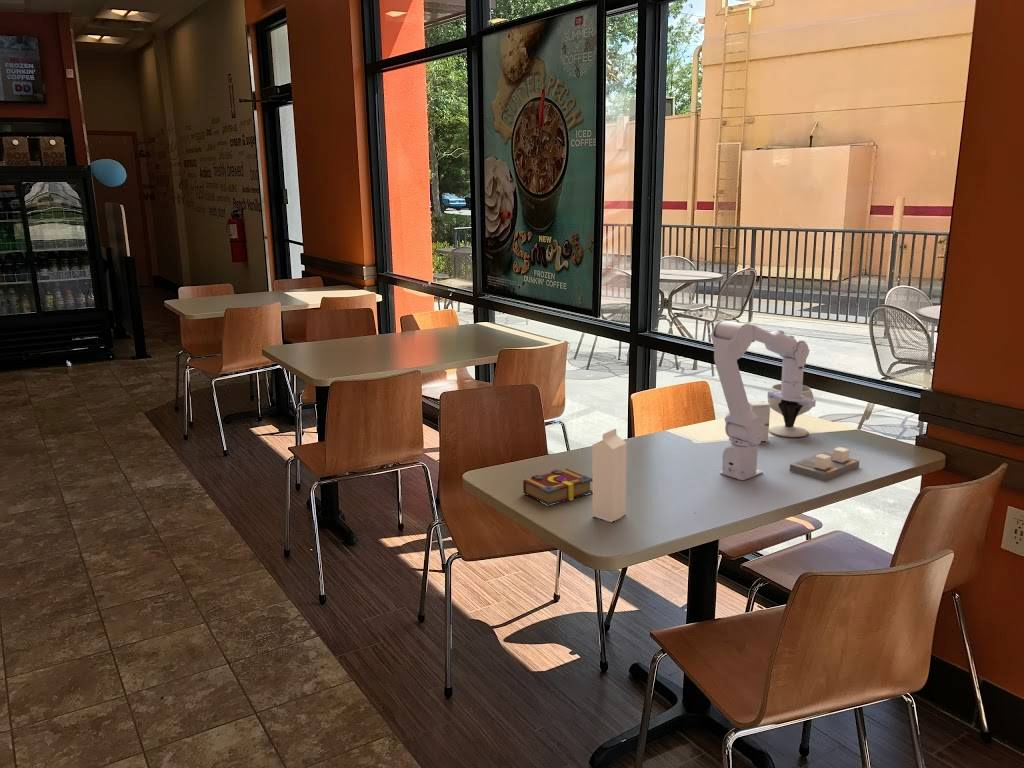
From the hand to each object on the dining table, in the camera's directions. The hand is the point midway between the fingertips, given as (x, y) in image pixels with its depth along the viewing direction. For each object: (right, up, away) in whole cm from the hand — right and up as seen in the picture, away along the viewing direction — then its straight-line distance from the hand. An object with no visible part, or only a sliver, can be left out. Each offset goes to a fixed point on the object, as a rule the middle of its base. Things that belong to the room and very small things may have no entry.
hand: (789, 426), depth 239 cm
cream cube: (+13, -9, -5) cm, 17 cm away
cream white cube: (+6, -11, -10) cm, 16 cm away
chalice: (+9, -4, +29) cm, 31 cm away
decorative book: (-67, -17, -18) cm, 72 cm away
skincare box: (-3, -6, +22) cm, 23 cm away
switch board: (+8, -12, -5) cm, 15 cm away
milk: (-56, -21, -34) cm, 69 cm away
